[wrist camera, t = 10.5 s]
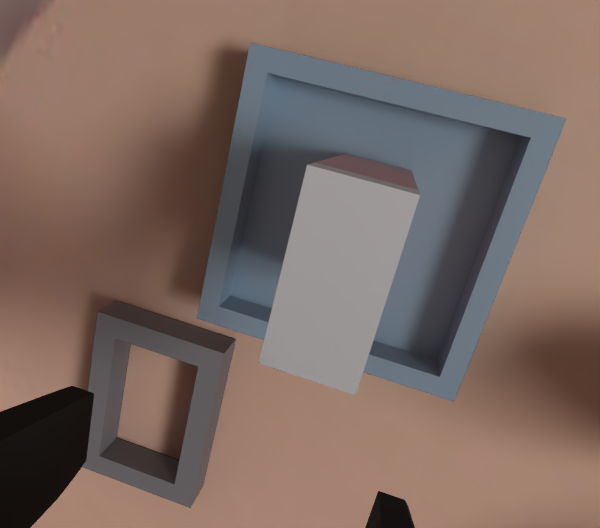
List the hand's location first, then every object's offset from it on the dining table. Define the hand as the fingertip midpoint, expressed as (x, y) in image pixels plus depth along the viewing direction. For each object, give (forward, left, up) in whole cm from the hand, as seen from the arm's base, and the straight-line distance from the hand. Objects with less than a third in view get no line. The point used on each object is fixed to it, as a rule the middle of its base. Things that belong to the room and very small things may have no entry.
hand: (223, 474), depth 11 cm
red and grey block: (+1, +5, -9) cm, 11 cm away
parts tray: (+1, +5, -10) cm, 11 cm away
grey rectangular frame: (-6, -6, -10) cm, 13 cm away
